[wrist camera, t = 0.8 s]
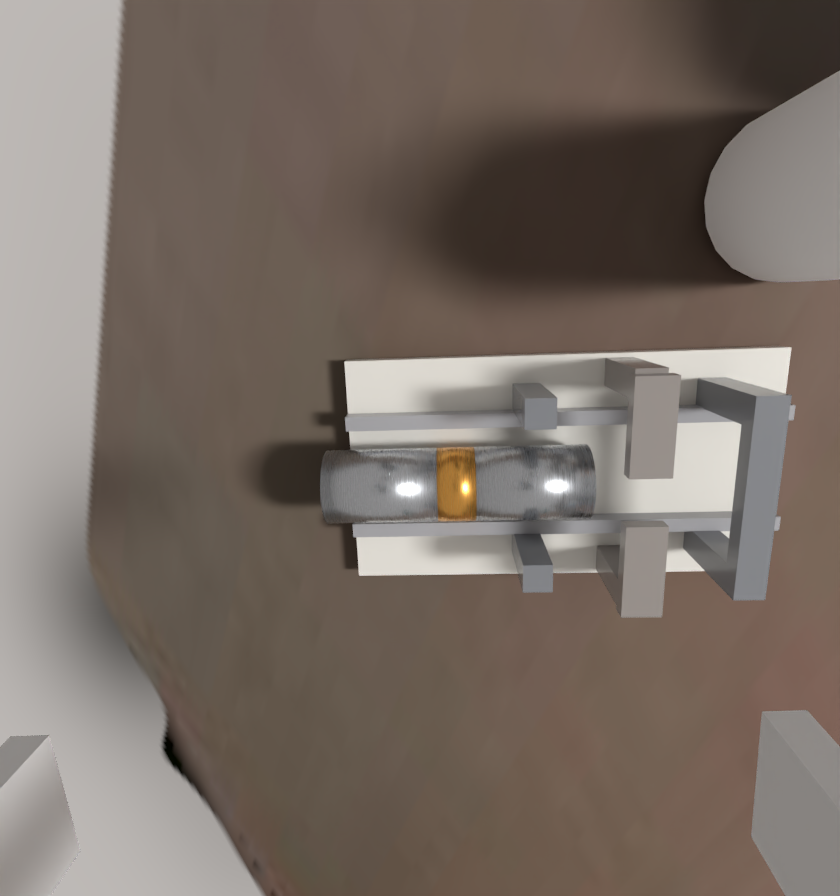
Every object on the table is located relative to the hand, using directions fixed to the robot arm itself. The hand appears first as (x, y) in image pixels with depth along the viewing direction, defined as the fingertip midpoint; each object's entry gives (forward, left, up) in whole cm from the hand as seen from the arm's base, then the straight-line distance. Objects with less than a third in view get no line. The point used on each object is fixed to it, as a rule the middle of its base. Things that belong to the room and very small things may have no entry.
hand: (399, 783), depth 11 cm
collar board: (+1, +7, -24) cm, 25 cm away
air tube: (+1, +1, -23) cm, 23 cm away
